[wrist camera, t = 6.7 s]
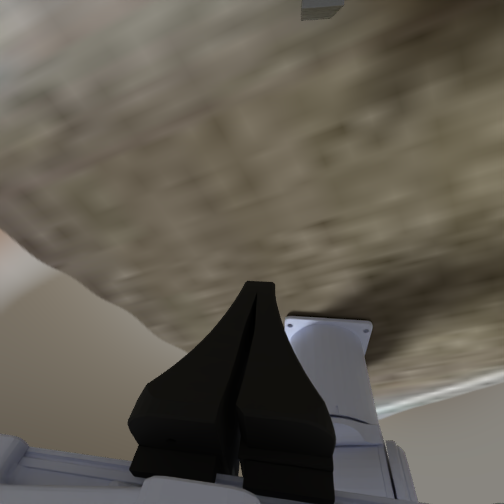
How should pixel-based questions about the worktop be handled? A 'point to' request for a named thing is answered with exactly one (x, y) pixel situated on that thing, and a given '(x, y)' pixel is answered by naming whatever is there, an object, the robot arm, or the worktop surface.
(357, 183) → the worktop surface
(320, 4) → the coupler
